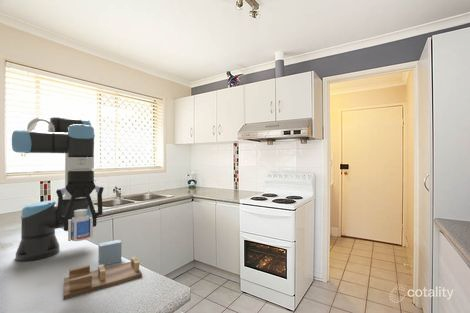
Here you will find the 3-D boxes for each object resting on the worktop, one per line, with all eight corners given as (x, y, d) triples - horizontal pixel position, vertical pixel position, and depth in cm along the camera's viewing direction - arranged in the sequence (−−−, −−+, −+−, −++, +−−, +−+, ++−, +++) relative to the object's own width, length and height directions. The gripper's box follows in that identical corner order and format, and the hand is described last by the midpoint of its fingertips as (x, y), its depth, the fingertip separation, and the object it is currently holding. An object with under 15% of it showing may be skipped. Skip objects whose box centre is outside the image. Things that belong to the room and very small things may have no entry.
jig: (63, 281, 81) (63, 268, 81) (133, 263, 95) (133, 253, 95) (63, 299, 71) (63, 285, 71) (141, 276, 84) (142, 264, 84)
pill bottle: (93, 236, 82) (93, 208, 82) (83, 241, 76) (84, 211, 76) (77, 236, 81) (77, 208, 82) (66, 241, 76) (67, 211, 76)
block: (98, 262, 96) (98, 243, 96) (119, 257, 101) (119, 239, 101) (99, 266, 93) (99, 246, 93) (121, 261, 97) (121, 242, 98)
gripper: (45, 171, 71) (44, 247, 70) (112, 169, 81) (112, 235, 81) (47, 170, 77) (46, 240, 76) (109, 169, 87) (109, 230, 87)
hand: (80, 237), depth 79 cm, fingers closed on pill bottle, 5 cm apart
